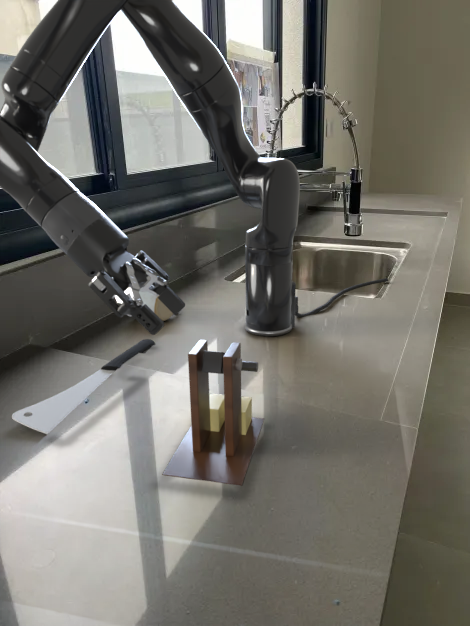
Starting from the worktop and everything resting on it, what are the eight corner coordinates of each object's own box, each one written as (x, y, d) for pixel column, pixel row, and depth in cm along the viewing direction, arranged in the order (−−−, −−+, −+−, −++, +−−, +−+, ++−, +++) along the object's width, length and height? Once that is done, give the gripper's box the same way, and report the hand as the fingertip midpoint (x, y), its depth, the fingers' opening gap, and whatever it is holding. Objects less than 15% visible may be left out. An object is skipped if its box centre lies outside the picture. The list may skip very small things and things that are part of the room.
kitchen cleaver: (65, 435, 63) (5, 413, 66) (66, 447, 63) (6, 424, 67) (184, 348, 90) (137, 335, 93) (183, 356, 90) (136, 343, 94)
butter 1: (209, 414, 67) (208, 393, 66) (226, 416, 66) (226, 394, 65) (200, 430, 63) (199, 407, 62) (219, 432, 62) (218, 409, 61)
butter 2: (234, 417, 66) (233, 395, 65) (251, 418, 65) (251, 397, 64) (226, 433, 62) (226, 410, 61) (245, 435, 62) (245, 412, 61)
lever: (214, 372, 68) (216, 355, 69) (257, 376, 67) (258, 358, 67) (185, 370, 56) (187, 349, 56) (237, 375, 54) (239, 353, 55)
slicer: (199, 419, 68) (195, 324, 63) (264, 426, 66) (264, 329, 61) (162, 484, 55) (154, 370, 50) (242, 495, 53) (240, 378, 48)
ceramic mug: (157, 326, 103) (155, 290, 101) (128, 319, 108) (126, 285, 105) (188, 313, 112) (187, 280, 110) (161, 307, 116) (159, 275, 114)
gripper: (73, 222, 59) (170, 319, 60) (125, 208, 72) (203, 288, 73) (40, 264, 62) (133, 356, 63) (95, 243, 75) (171, 320, 76)
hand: (170, 319), depth 68 cm, fingers open, 8 cm apart
